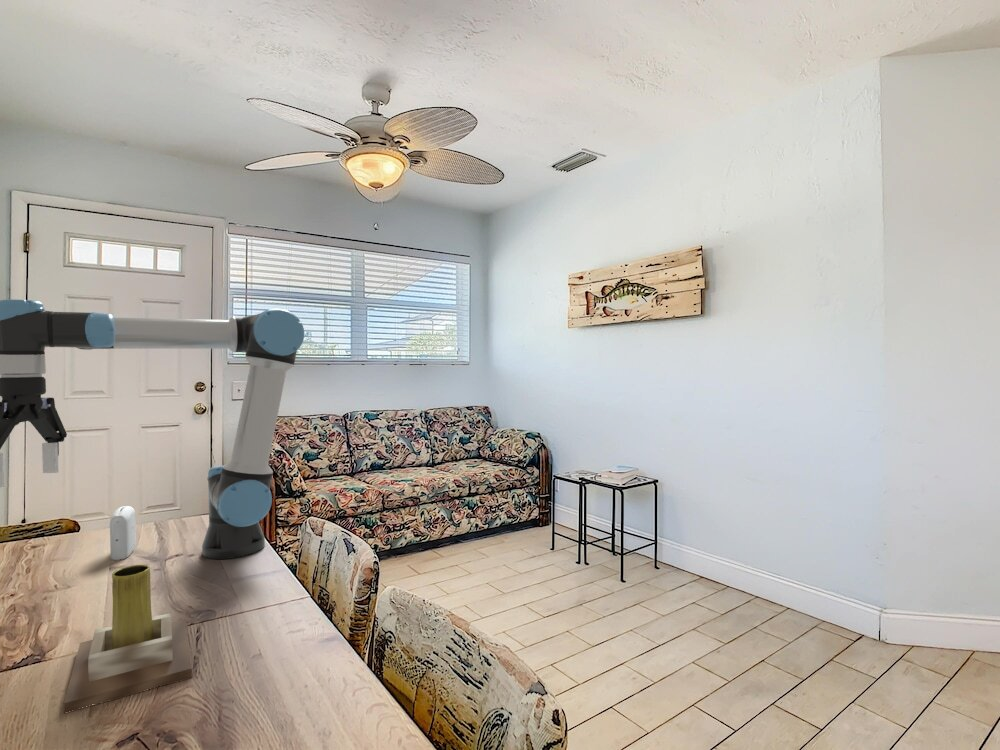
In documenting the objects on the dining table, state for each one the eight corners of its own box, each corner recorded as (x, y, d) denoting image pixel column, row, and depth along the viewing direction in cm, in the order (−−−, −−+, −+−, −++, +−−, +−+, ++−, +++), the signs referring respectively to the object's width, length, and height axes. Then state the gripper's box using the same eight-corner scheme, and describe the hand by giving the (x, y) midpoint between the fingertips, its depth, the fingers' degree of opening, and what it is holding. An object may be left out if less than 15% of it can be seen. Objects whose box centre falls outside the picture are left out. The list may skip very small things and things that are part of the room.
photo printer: (128, 559, 139) (127, 511, 138) (108, 561, 137) (107, 513, 137) (138, 546, 148) (137, 501, 148) (119, 548, 147) (118, 503, 146)
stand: (185, 626, 103) (185, 600, 103) (191, 677, 86) (191, 646, 86) (80, 651, 94) (79, 623, 94) (64, 713, 77) (63, 679, 77)
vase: (163, 648, 92) (161, 565, 92) (127, 667, 86) (125, 579, 86) (138, 642, 94) (135, 561, 94) (101, 660, 88) (99, 574, 88)
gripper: (50, 374, 122) (53, 467, 123) (-59, 378, 97) (-55, 494, 98) (84, 374, 122) (87, 467, 123) (-15, 377, 97) (-12, 494, 98)
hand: (24, 479), depth 110 cm, fingers open, 13 cm apart
